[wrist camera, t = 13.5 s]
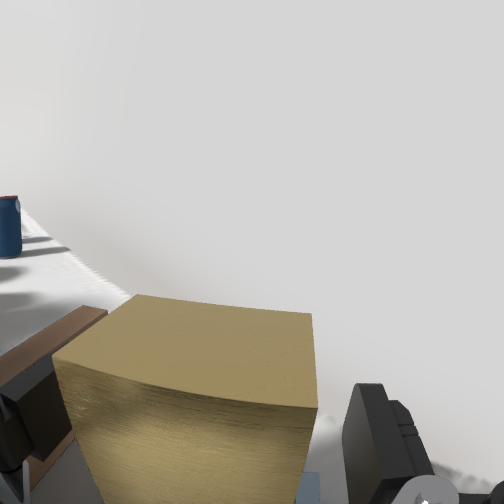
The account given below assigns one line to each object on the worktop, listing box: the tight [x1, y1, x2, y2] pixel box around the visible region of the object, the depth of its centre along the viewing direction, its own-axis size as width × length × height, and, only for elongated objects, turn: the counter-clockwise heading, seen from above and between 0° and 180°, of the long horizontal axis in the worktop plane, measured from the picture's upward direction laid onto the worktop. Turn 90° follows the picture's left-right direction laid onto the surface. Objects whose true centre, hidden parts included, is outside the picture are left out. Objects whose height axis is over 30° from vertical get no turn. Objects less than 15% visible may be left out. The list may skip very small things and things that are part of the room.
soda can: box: [0, 196, 22, 259], centre depth 50 cm, size 7×7×12 cm
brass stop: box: [51, 294, 318, 504], centre depth 8 cm, size 5×4×10 cm
